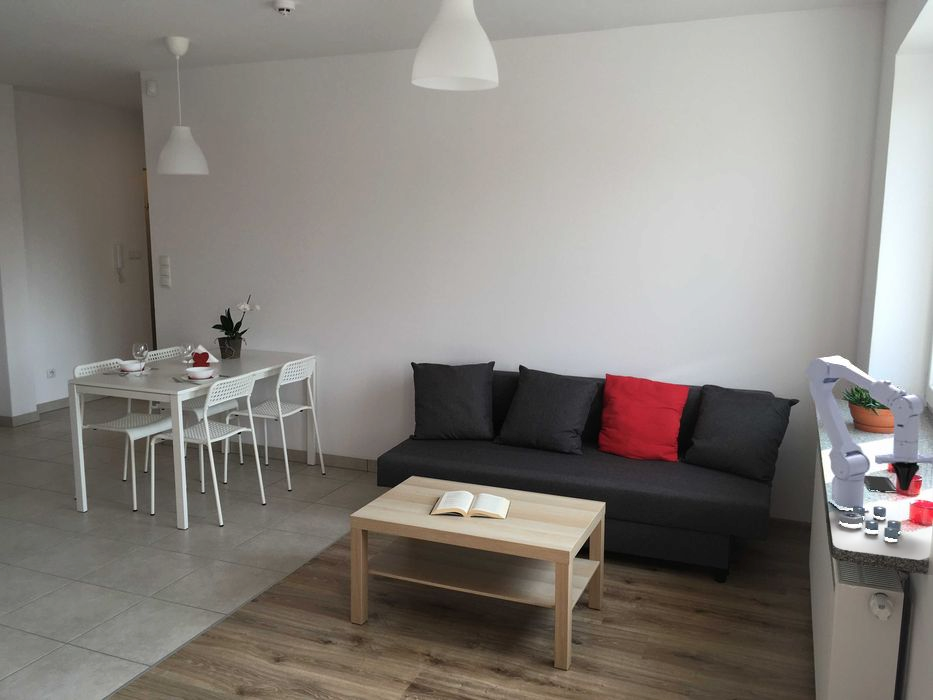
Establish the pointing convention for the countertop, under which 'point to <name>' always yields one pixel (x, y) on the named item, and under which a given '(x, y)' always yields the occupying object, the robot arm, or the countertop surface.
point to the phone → (879, 483)
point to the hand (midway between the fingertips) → (904, 489)
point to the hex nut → (850, 518)
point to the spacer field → (891, 528)
